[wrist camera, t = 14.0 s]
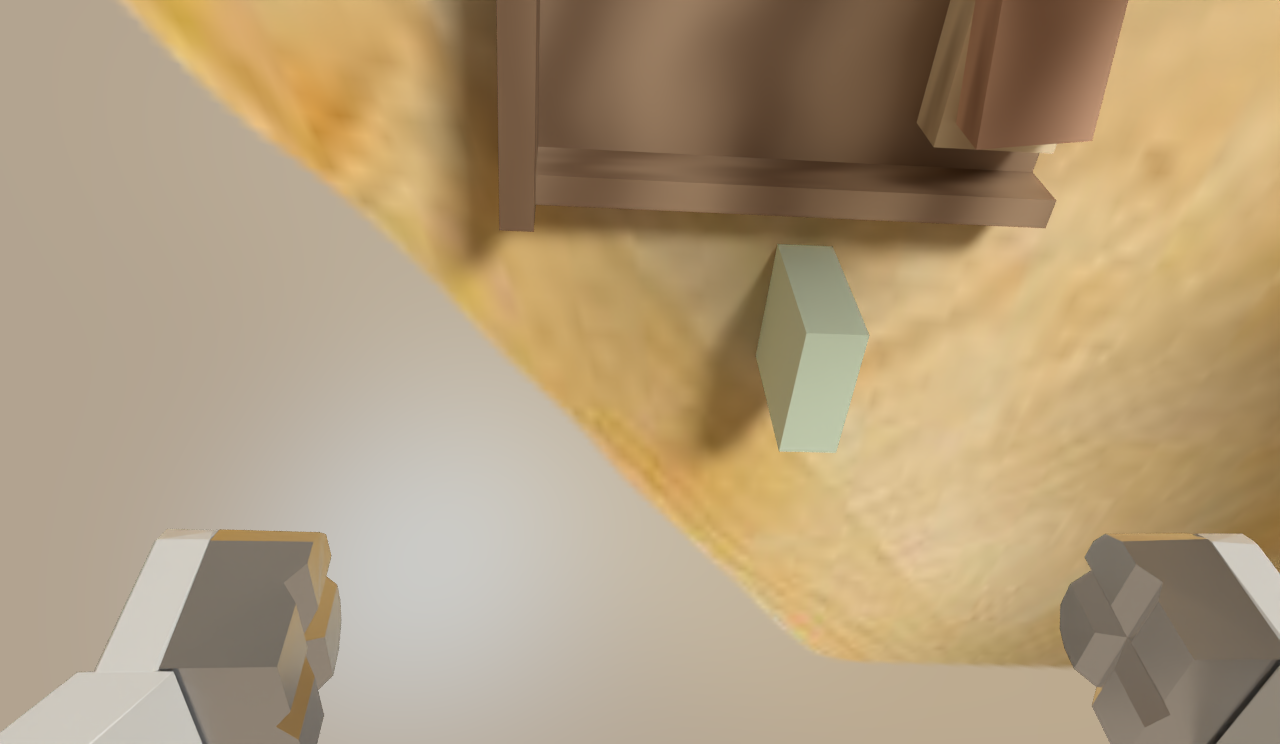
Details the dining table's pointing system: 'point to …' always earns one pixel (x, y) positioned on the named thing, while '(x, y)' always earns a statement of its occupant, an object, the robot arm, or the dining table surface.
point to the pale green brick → (809, 348)
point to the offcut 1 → (953, 85)
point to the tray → (738, 113)
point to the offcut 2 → (1037, 70)
